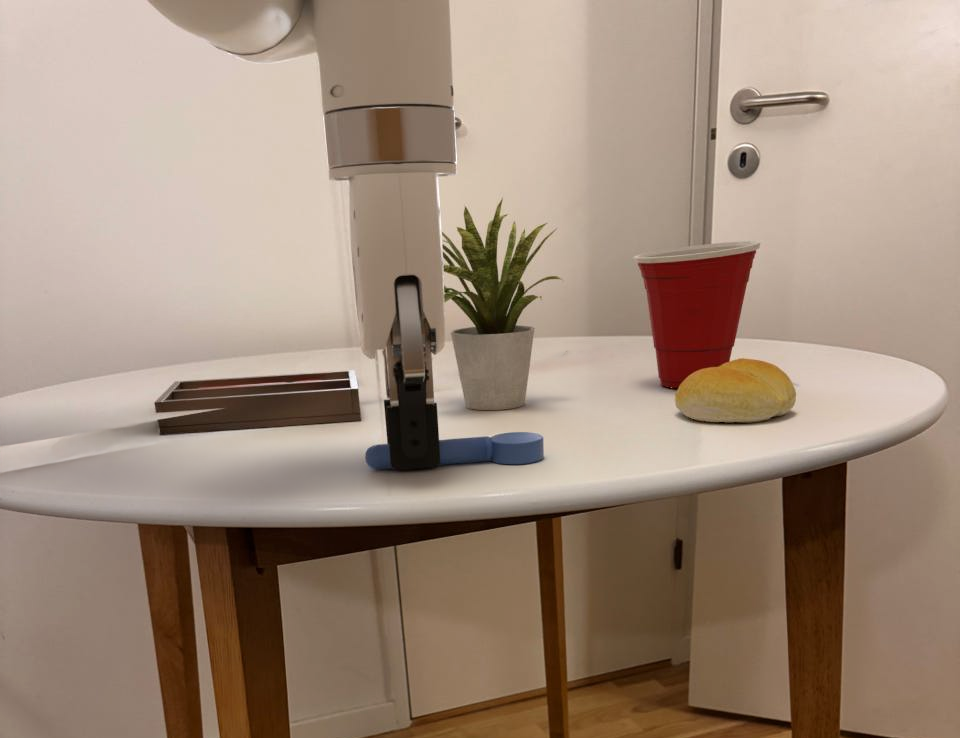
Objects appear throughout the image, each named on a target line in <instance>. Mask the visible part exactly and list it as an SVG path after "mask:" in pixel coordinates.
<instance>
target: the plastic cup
mask: <svg viewBox="0 0 960 738" xmlns="http://www.w3.org/2000/svg"><path fill="white" fill-rule="evenodd" d="M760 246H761V241H756V240H750V241H749V240H747V241H745V240H744V241H730V242H717V243H706V244H697V245H689V246H681V247H675V248H674V247H673V248H668V249H662V250H661V249H660V250H656V251H655V250H654V251H649V252H646V253H640V254H638V255H635V256H633V257H632V258H633V262H634V263H637V266H638V268H639V270H640V275H641V278H642V280H643V285H644V289H645V291H646V300H647V306H648V307H647V308H648V312H649V314H648V315H649V320H650V327H651V335H652V342H653V348H654V349H655V356H656V365H657V374H658V375H657V376H658V378H659V380H660V385H661V387H663V386H665V387H664V388H667V387H672V388H671V389H673V388H679V386H680V384H681V383H682V382H683V381H684V380H685V379H686V378H687V377H688V376H689V375H691V374H692V373H694V372H696V371H698V370H701V369H704V368H710V367H719V366H721V365H722V364H724V363H726V362H730V361H731V356H732V351H733V347H734V346H735V342H736V339H737V334H738V328H739V323H740V319H741V314H742V310H743V304H744V300H745V295H746V290H747V287H748V283H749V281H750V275H751V269H752V268H753V264H754V259H755V256H756V254H757V250H759V249H760Z"/></svg>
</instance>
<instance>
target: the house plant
mask: <svg viewBox="0 0 960 738" xmlns="http://www.w3.org/2000/svg"><path fill="white" fill-rule="evenodd" d="M503 198H504V197H503V196H502V198H501V200H500V201H499V203H498V204H497V206H496V209H495V212H494V216H493V219H491V220H490V221H489V222H488V224H487V230H486V236H485V243H484V242H483V240H482V237H481V234H480V233H479V231H478V229H477V227H476V225H475V223H474V220H473V217H472V215H471V213H470V211H469V209H468V208H467V207H466V206H464V209H463V220H464V225H465V228H462V227H458V226H456V231H457V233H458V234H459V235H460V238H461V249H462V251H463V253H464V255H465V257H466V260H467V261H468V263H469V265H470V267H469V266H468V263H467V261H466V260H465V258H464V256H463V254H462V253H461V251H460V250H459V249H458V248H457V246H456V245H455V244H454V242H453V241H452V240H451V239H450V238H449V236H447V234H445V233H444V232H443V231H441V232H442V237H443V238H444V239H445V240H443V239H442V242H444V243H446V244H449V246H450V248H451V249H450V248H449V247H447V246H446V245H445V244H444V243H442V250H443V260H445V262H447V264H444V263H443V272H444V273H447V274H449V275H452V276H455V277H457V278H458V280H459V282H460V283H461V286H463V288H464V290H465V291H458V290H457V289H455V288H453V287H447V286H446V285H444V303H447V302H448V301H450V300H451V301H453V302H454V304H456V305H457V306H458V307H459V309H460V310H461V311H462V312H463V313H464V314H465V316H466V317H468V319H469V320H470V321H471V322H472V323H473V325H474V326H470V327H464V328H463V327H461V328H457V329H453V330H451V331H450V337H451V340H452V345H453V350H454V355H455V356H454V357H455V360H456V366H457V370H458V375H459V379H460V385H461V389H462V395H463V399H464V405H465V407H466V408H468V409H472V410H477V411H500V410H510V409H515V408H516V409H517V408H520V407H522V406H524V405H525V403H526V397H527V390H528V383H529V382H528V381H529V373H530V365H531V359H532V350H533V343H534V342H533V341H534V336H535V328H534V326H529V325H521V324H520V325H519V324H518V325H517V323H518V320H519V318H520V317H521V315H522V313H523V311H524V310H525V309H526V307H528V305H530V304H531V303H532V302H534V301H535V300H536V299H538V298H539V299H540V301H543V300H542V297H543V296H542V295H540V296H538V295H535V294H530V295H526V293H528V292H529V290H531V289H532V288H534V287H535V286H537V285H538V284H540V283H543V282H545V281H550V280H561V281H563V278H561V277H560V276H557V275H556V276H555V275H551V276H545V277H543V278H541V279H539V280H538V281H536V282H535V283H532V285H530V286H528V288H526V287H525V284H524V283H523V282H522V281H521V279H522V278H523V275H524V273H525V272H526V270H527V267H528V266H529V265H530V263H531V261H532V260H533V259H534V258H535V256H536V255H537V254H538V252H539V251H540V249H541V248H542V246H543V245H544V244H545V242H546V241H547V240H548V239H549V238H550V237H551V236H552V235H553V233H554V232H556V230H558V227H556V228H555V229H554V230H552V232H550V233H549V234H547V235H546V236H545V237H544V239H542V241H541V242H540V243H539V244H538V246H537V247H536V248H535V249H534V251H533V252H532V253H530V250H531V248H532V246H533V245H534V243H535V240H536V238H537V237H538V235H539V233H540V232H541V230H543V228H544V227H545V226H546V225H547V224H548V222H545V223H544V224H540V225H538V226H537V227H536V228H534V229H533V230H532V231H531V232H530V233H529V234H527V236H526V229H525V227H524V228H523V231H522V232H521V234H520V238H519V240H518V242H517V244H516V239H517V225H516V221H515V220H514V221H513V223H512V226H511V230H510V232H509V236H508V241H507V247H506V251H505V255H504V259H503V263H502V267H501V268H502V270H501V275H500V280H499V269H498V241H499V232H500V229H501V226H502V222H503V220H504V218H506V217H507V216H508V215H509V213H508V214H503V215H501V211H502V204H503ZM515 245H516V247H515ZM514 248H515V249H514ZM444 251H445V252H444ZM513 252H514V253H513ZM446 253H447V254H448V255H449V256H450V257H451V258H452V259H453V260H454V261H455V262H456V264H457V265H458V266H456V265H455V263H454V262H453V261H452V259H451V258H450V257H449V256H448V255H447V254H446ZM529 253H530V255H529ZM466 281H468V282H470V283H471V285H472V287H473V288H474V290H475V292H476V293H475V292H474V291H471V290H470V288H469V286H468V284H467V282H466ZM465 295H466V296H467V297H468V298H469V299H468V298H467V297H466V296H465ZM471 302H472V303H471Z"/></svg>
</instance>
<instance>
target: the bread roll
mask: <svg viewBox="0 0 960 738" xmlns="http://www.w3.org/2000/svg"><path fill="white" fill-rule="evenodd" d="M796 401H797V391H796V388H795V386H794V383H793V382H792V380H791V378H790V377H789V375H787V373H786V372H785V371H784V370H782V369H781V368H780V367H779V366H778V365H776V364H773V363H770V362H767V361H764V360H760V359H753V358H745V357H744V358H743V357H742V358H741V357H740V358H737V359H733V360H730V361H729V362H726V363H724V364H722V365H721V366H719V367H710V368H704V369H701V370H698V371H696V372H694V373H692V374H691V375H689V376H688V377H687V378H686V379H685V380H684V381H683V382H682V383H681V384H680V386H679V388H678V389H676V392H675V398H674V402H675V403H674V404H675V407H676V409H677V410H678V411H679V412H680V413H681V414H682V415H683V416H685V417H687V418H688V417H689V419H690V418H691V419H690V420H693V419H694V421H699V422H704V421H705V422H706V423H719V422H725V423H724V424H726V423H727V424H728V423H730V424H731V423H733V424H734V422H737V423H760V422H762V421H767V420H771V418H773V417H780V416H784V415H786V413H788V412H790V411H791V410H792V409H793V407H794V406H795V404H796Z"/></svg>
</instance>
